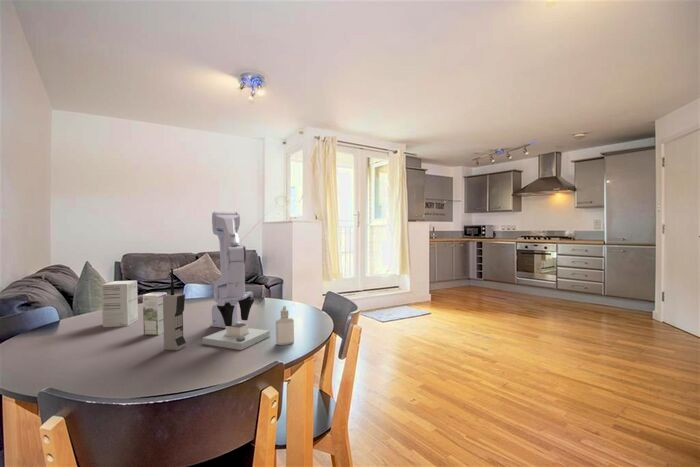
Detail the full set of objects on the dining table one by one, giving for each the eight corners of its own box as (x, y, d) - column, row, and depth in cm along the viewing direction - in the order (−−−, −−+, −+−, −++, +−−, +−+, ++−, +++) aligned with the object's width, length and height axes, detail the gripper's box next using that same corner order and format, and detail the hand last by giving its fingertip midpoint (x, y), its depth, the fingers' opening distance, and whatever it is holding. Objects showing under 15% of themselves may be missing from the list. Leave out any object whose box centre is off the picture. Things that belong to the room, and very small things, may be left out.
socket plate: (202, 343, 108) (202, 335, 108) (233, 331, 121) (233, 324, 121) (241, 350, 102) (241, 340, 101) (269, 336, 114) (269, 328, 114)
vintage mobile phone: (178, 350, 102) (176, 269, 102) (163, 349, 103) (162, 269, 103) (186, 346, 106) (184, 267, 106) (172, 345, 107) (170, 267, 106)
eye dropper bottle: (292, 345, 105) (291, 307, 105) (274, 345, 105) (273, 307, 105) (295, 341, 109) (294, 304, 109) (278, 340, 109) (277, 304, 109)
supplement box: (114, 321, 139) (113, 281, 139) (138, 319, 140) (137, 280, 140) (101, 327, 129) (100, 284, 129) (127, 326, 131) (127, 283, 131)
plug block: (226, 341, 110) (225, 325, 110) (234, 337, 114) (234, 322, 114) (240, 343, 108) (239, 327, 108) (248, 339, 112) (248, 323, 112)
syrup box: (168, 330, 124) (167, 291, 123) (157, 335, 118) (156, 294, 118) (154, 330, 124) (153, 291, 124) (142, 335, 118) (141, 294, 118)
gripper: (229, 286, 103) (230, 330, 103) (259, 279, 116) (260, 318, 116) (212, 285, 106) (213, 327, 106) (243, 278, 119) (244, 316, 119)
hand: (236, 322), depth 111 cm, fingers open, 7 cm apart
